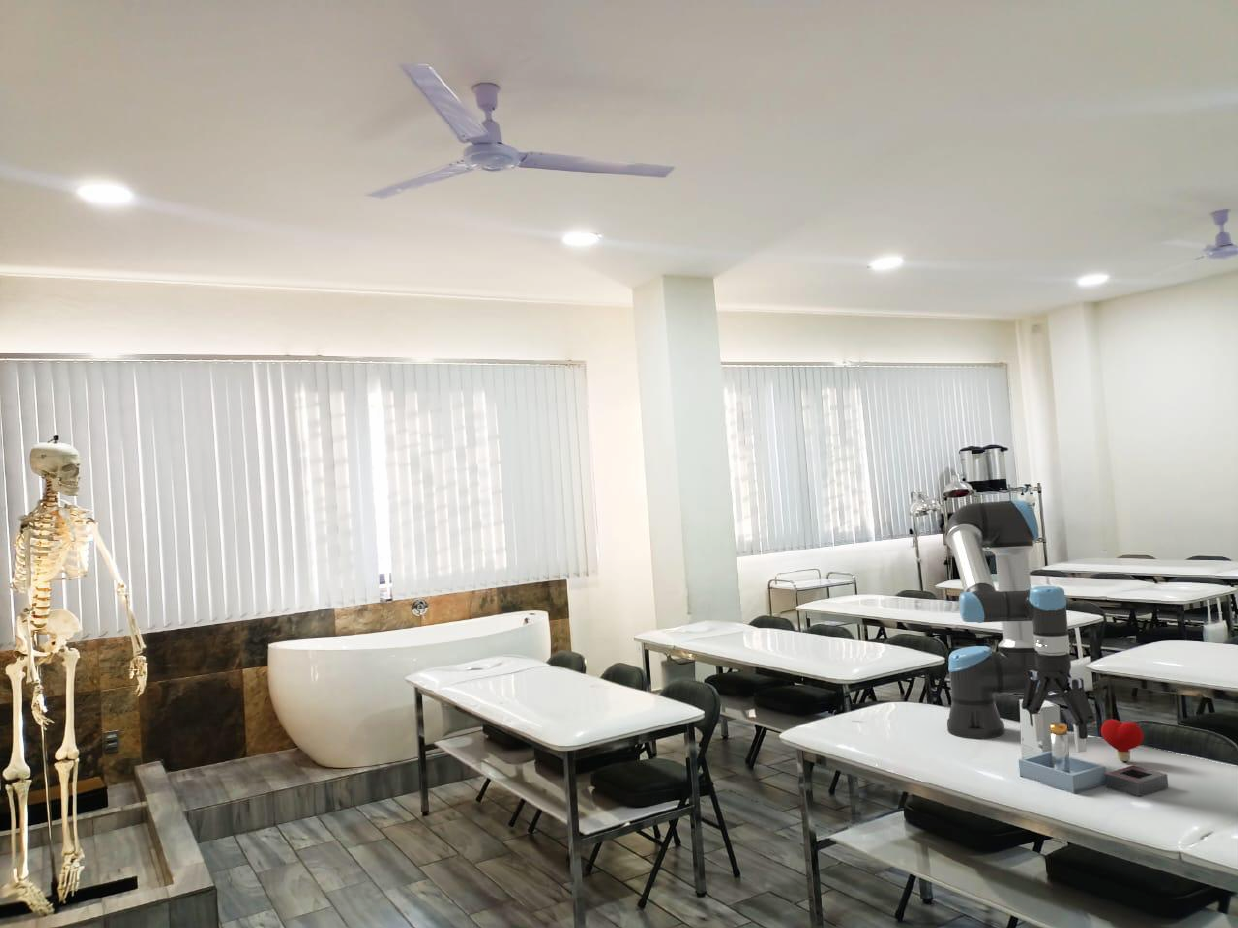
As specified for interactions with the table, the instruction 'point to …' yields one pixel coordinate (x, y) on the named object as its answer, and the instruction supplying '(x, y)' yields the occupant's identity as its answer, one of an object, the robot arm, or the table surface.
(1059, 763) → the copper top battery
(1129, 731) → the red heart shape
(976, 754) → the table surface
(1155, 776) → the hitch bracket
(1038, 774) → the tray
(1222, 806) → the table surface
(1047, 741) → the skincare box
